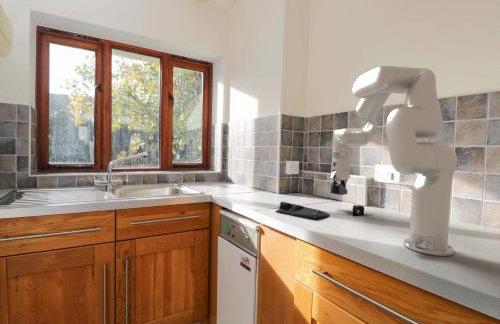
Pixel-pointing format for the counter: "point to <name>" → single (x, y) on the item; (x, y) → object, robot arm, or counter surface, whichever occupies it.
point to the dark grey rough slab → (301, 211)
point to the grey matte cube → (340, 189)
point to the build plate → (355, 211)
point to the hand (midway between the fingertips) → (338, 192)
